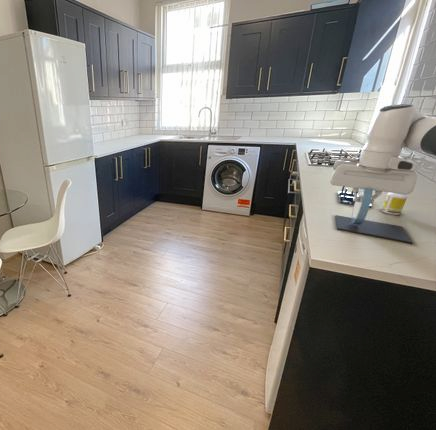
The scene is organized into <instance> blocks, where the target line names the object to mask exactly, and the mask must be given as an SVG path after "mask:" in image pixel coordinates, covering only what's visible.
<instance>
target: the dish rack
mask: <svg viewBox="0 0 436 430" xmlns="http://www.w3.org/2000/svg"><path fill="white" fill-rule="evenodd" d="M359 191H360V189H359V190H358V192H357V191H356V194H357V195H358V193H359ZM337 197H338V203H339V204H342V205H347V206H354V204H355V201H353V199H354V193H353V191H352V190H351V192H348V187H343V186H341V191H338V192H337ZM371 208H372V204H370V207H369V209H371Z"/></svg>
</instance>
